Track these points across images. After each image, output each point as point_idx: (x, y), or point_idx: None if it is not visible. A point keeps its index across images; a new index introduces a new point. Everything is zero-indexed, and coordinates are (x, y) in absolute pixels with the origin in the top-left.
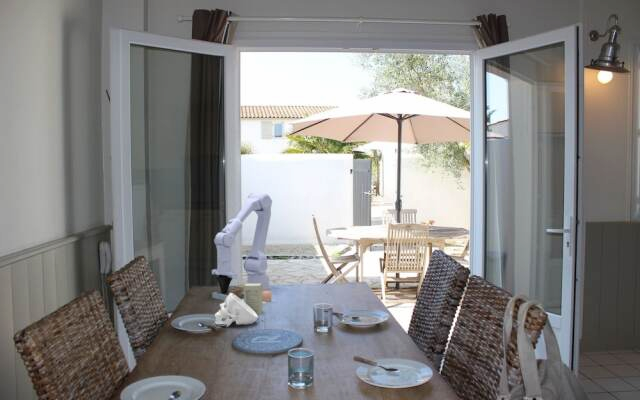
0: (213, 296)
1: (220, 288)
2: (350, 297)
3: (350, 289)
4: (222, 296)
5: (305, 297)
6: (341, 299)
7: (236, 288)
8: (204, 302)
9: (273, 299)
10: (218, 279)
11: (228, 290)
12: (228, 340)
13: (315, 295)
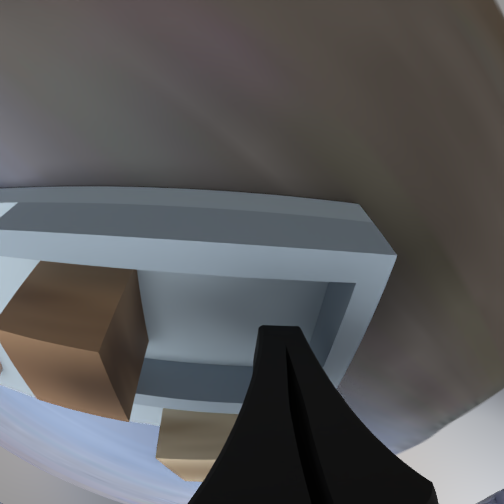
0: (355, 227)
1: (317, 369)
2: (25, 453)
3: (101, 491)
4: (146, 228)
5: (63, 447)
6: (10, 440)
7: (222, 440)
8: (388, 109)
9: (5, 386)
10: (363, 495)
11: (94, 344)
12: None
13: (77, 462)
